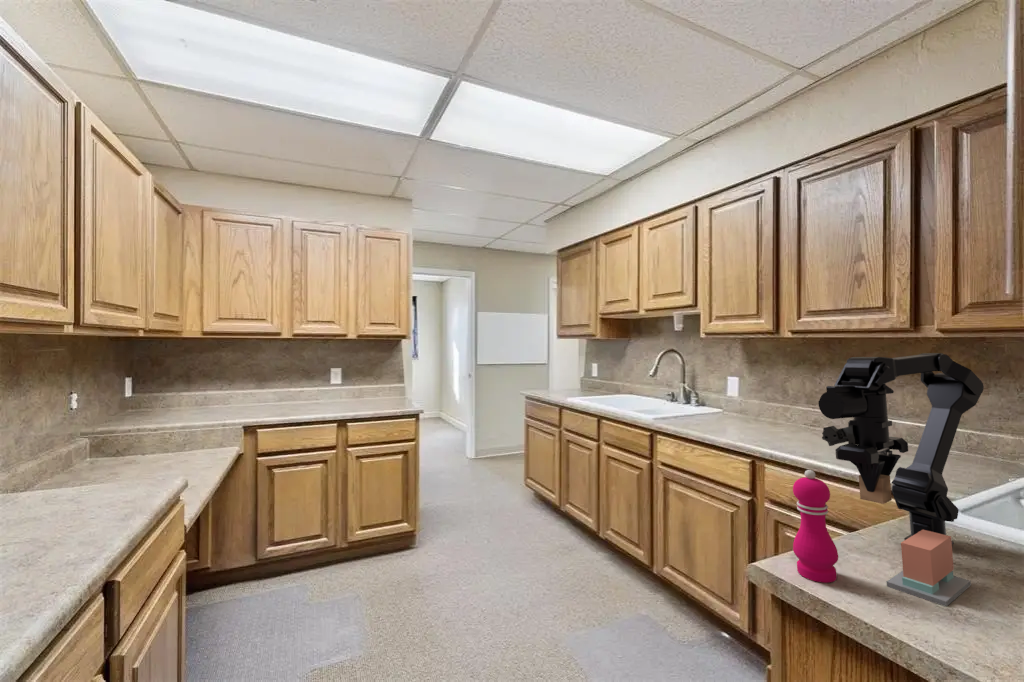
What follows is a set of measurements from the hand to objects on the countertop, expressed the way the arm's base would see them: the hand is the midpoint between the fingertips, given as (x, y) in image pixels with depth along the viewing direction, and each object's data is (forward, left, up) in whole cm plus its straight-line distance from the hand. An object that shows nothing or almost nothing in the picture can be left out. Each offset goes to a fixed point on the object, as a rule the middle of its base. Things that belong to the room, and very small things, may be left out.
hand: (875, 489), depth 94 cm
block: (0, 0, -2) cm, 2 cm away
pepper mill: (+20, -2, -13) cm, 24 cm away
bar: (+8, +10, -11) cm, 17 cm away
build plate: (+9, +11, -13) cm, 19 cm away
